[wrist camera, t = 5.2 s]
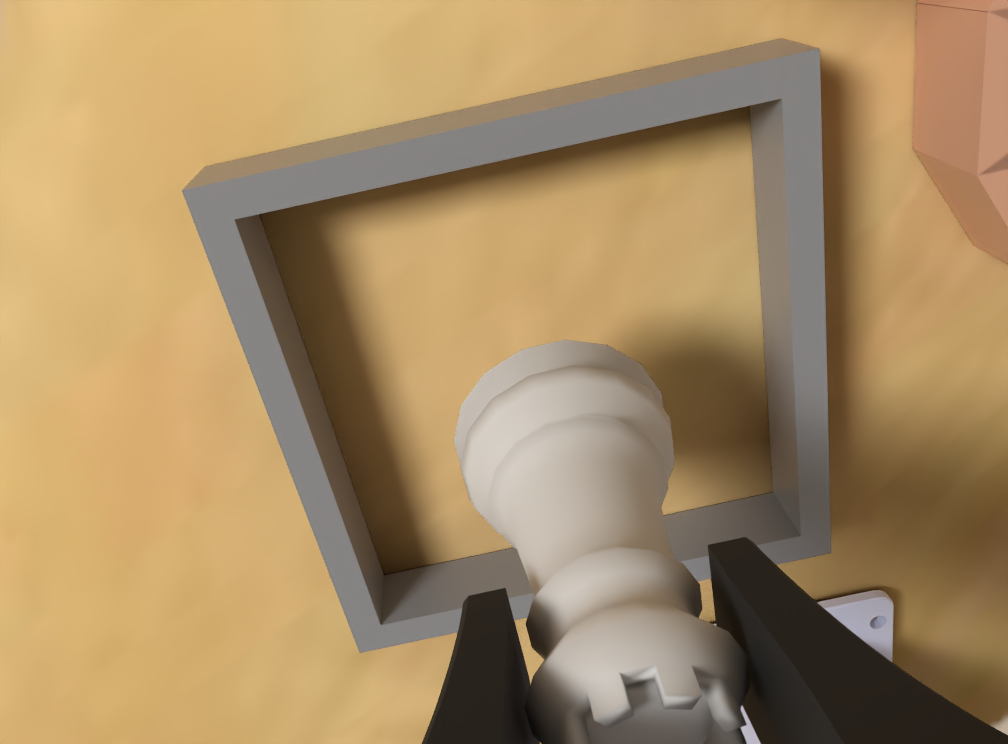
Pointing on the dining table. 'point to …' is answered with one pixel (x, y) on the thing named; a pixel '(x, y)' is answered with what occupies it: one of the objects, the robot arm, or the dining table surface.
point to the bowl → (965, 112)
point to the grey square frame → (504, 135)
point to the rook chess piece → (598, 550)
